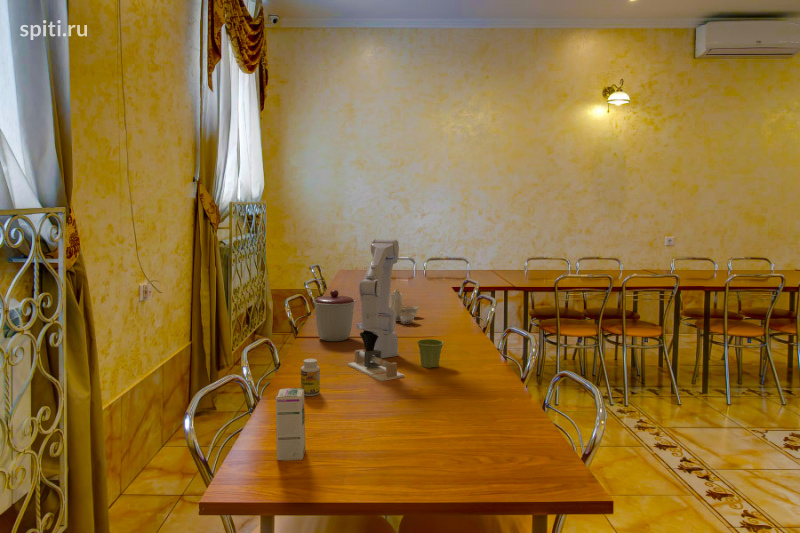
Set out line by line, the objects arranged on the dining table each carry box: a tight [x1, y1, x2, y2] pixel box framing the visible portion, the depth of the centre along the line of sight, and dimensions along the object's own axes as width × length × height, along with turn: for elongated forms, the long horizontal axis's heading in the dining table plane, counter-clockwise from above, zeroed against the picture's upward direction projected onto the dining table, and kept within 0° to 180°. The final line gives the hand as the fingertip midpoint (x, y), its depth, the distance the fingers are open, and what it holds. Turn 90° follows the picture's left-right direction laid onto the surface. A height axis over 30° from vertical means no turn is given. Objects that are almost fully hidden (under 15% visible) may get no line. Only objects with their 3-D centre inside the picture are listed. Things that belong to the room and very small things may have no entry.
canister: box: [312, 289, 357, 342], centre depth 238 cm, size 18×18×21 cm
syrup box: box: [275, 387, 306, 461], centre depth 125 cm, size 6×6×14 cm
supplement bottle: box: [300, 358, 321, 397], centre depth 167 cm, size 6×6×10 cm
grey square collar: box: [364, 350, 382, 368], centre depth 193 cm, size 2×5×5 cm, turn 125°
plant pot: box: [417, 338, 445, 369], centre depth 199 cm, size 9×9×9 cm
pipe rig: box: [347, 348, 405, 382], centre depth 192 cm, size 22×9×5 cm, turn 35°
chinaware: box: [388, 288, 419, 325], centre depth 281 cm, size 28×17×17 cm, turn 179°
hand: (369, 352), depth 194 cm, fingers closed
